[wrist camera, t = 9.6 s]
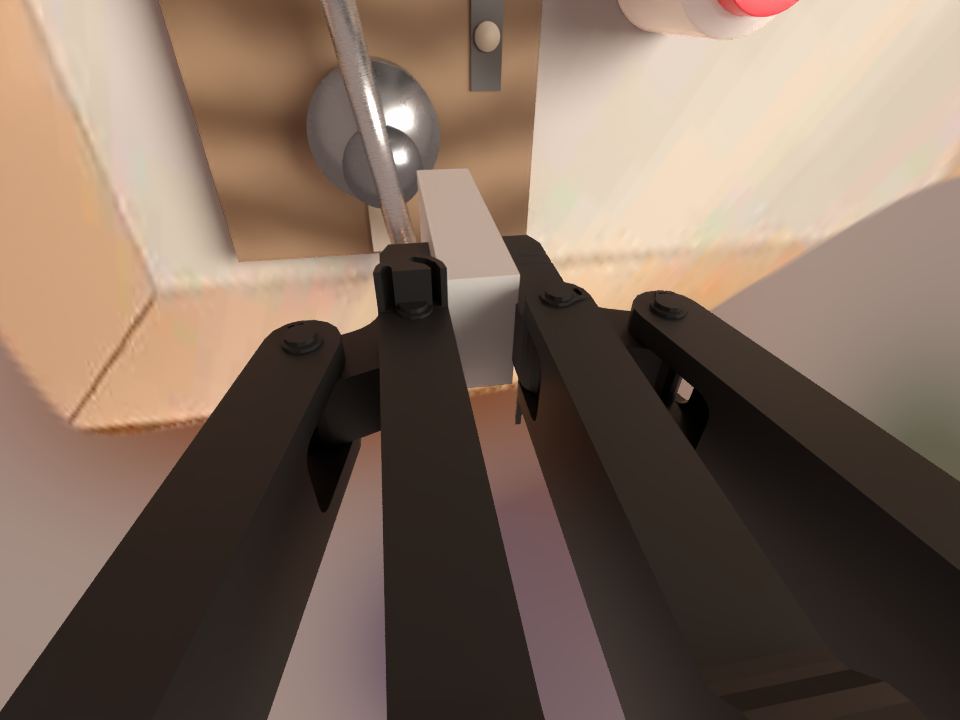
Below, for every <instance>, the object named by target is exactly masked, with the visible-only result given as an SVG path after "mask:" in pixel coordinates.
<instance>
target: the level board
mask: <svg viewBox="0 0 960 720" xmlns="http://www.w3.org/2000/svg"><path fill="white" fill-rule="evenodd" d="M158 1H159V4H160V7H161V11H162V14H163V17H164V20H165V24H166V27H167V30H168V33H169V37H170V40H171V43H172V46H173V50H174V53H175V56H176V59H177V63H178V66H179V69H180V72H181V76H182V79H183V82H184V85H185V89H186V92H187V95H188V98H189V102H190V105H191V108H192V111H193V115H194V118H195V121H196V125H197V128H198V131H199V134H200V138H201V141H202V144H203V147H204V151H205V154H206V157H207V160H208V164H209V167H210V170H211V173H212V177H213V180H214V183H215V186H216V190H217V193H218V196H219V199H220V203H221V206H222V209H223V212H224V216H225V219H226V222H227V226H228V229H229V232H230V235H231V239H232V242H233V245H234V248H235V252H236V255H237V258H238V261H239V262H245V261H260V260H276V259H291V258H307V257H322V256H338V255H353V254H369V253H381V252H382V251H383V250H384V249H385V247H386V246H387V245H388V244H391V243H390V240H389V237H388V233H387V230H386V226H385V223H384V219H383V216H382V212H381V209H379V208H375V207H372V206H369V205H367V204H365V203H363V202H362V201H360V200H359V199H358V198H356V197H353V196H351V195H349V194H347V193H345V192H343V191H342V190H340V189H339V188H337V187H336V186H335V185H334V184H333V183H332V182H330V180H329V179H328V178H327V177H326V176H325V175H324V174H323V172H322V171H321V170H320V168H319V167H318V165H317V163H316V161H315V160H314V157H313V155H312V152H311V150H310V146H309V143H308V137H307V126H306V122H307V113H308V108H309V104H310V102H311V99H312V97H313V94H314V93H315V91H316V89H317V87H318V86H319V84H320V82H321V81H322V79H323V78H324V77H325V76H326V74H327V73H328V72H329V71H330V70H331V69H333V68H334V67H335V66H337V65H338V61H337V58H336V54H335V51H334V47H333V44H332V40H331V37H330V33H329V30H328V27H327V23H326V20H325V16H324V13H323V9H322V6H321V2H320V0H158ZM356 4H357V8H358V12H359V16H360V20H361V24H362V28H363V32H364V36H365V40H366V44H367V48H368V51H369V55H370V56H374V57H380V58H384V59H387V60H390V61H392V62H394V63H396V64H398V65H400V66H401V67H403V68H404V69H406V70H407V71H408V72H409V73H410V74H412V75H413V76H414V77H415V79H416V80H417V81H418V82H419V83H420V85H421V86H422V88H423V89H424V91H425V92H426V94H427V95H428V97H429V99H430V101H431V103H432V105H433V107H434V109H435V112H436V115H437V119H438V123H439V129H440V146H439V152H438V157H437V160H436V163H435V165H434V168H433V169H432V170H436V169H463V168H468V170H469V172H470V174H471V176H472V178H473V180H474V182H475V184H476V186H477V188H478V190H479V192H480V194H481V196H482V198H483V200H484V202H485V204H486V206H487V208H488V210H489V212H490V214H491V216H492V219H493V221H494V223H495V225H496V227H497V229H498V231H499V233H500V235H501V236H514V235H526V231H527V216H528V202H529V187H530V173H531V159H532V144H533V130H534V115H535V101H536V86H537V72H538V57H539V43H540V28H541V14H542V0H356ZM407 205H408V209H409V213H410V217H411V221H412V225H413V228H414V232H415V236H416V240H417V243H421V231H420V216H419V200H418V192H417V193H416V194H415V196H414V197H413V198H412V199H411V200H410V201H408V202H407Z"/></svg>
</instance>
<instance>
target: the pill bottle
mask: <svg viewBox="0 0 960 720" xmlns="http://www.w3.org/2000/svg"><path fill="white" fill-rule="evenodd" d="M797 1H799V0H618V3H619V5H620V8H621V10H622V11H623V13H624V14H625V16H626V17H627V19H628V20H629V21H630V22H632V23H633V24H634V25H635V26H637V27H638V28H640V29H642V30H645V31H649V32H653V33H662V34H670V35H679V36H688V37H696V38H705V39H714V40H732V39H736V38H740V37H743V36H746V35H748V34H750V33H752V32H754V31H756V30H758V29H760V28H761V27H762V26H764V25H765V24H766V23H768V22H769V21H770V20H772V19H773V18H774V17H775V16H776V15H777V14H778V13H780V12H782V11H784V10H786V9H788V8H789V7H791V6H792V5H793V4H795V3H796V2H797Z"/></svg>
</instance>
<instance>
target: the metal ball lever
mask: <svg viewBox="0 0 960 720" xmlns="http://www.w3.org/2000/svg"><path fill="white" fill-rule="evenodd" d="M320 2H321V6H322V9H323V13H324V16H325V20H326V23H327V27H328V30H329V33H330V37H331V40H332V44H333V47H334V51H335V54H336V58H337V61H338V65H337V66H335V67H334V68H333V69H331V70H330V71H329V72H328V73H327V74H326V76H325V77H324V78H323V79H322V81H321V82H320V84H319V86H318V87H317V89H316V91H315V93H314V94H313V97H312V99H311V102H310V104H309V108H308V113H307V122H306V126H307V137H308V143H309V146H310V150H311V152H312V155H313V157H314V160H315V161H316V163H317V165H318V167H319V168H320V170H321V171H322V172H323V174H324V175H325V176H326V177H327V178H328V179H329V180H330V182H332V183H333V184H334V185H335V186H336V187H337V188H339V189H340V190H342V191H343V192H345V193H347V194H349V195H351V196H353V197H356V198H358V199H359V200H360V201H362V202H363V203H365V204H367V205H369V206H372V207H375V208H379V209H381V212H382V216H383V219H384V223H385V226H386V230H387V233H388V237H389V240H390V243H391V244H405V243H417V240H416V236H415V232H414V228H413V225H412V221H411V217H410V213H409V209H408V205H407V202H408V201H410V200H411V199H412V198H413V197H414V196H415V194H416V193H417V192H418V184H417V170H432V169H433V168H434V165H435V163H436V160H437V157H438V152H439V146H440V129H439V123H438V119H437V115H436V112H435V109H434V107H433V105H432V103H431V101H430V99H429V97H428V95H427V94H426V92H425V91H424V89H423V88H422V86H421V85H420V83H419V82H418V81H417V80H416V79H415V77H414V76H413V75H412V74H410V73H409V72H408V71H407V70H406V69H404V68H403V67H401V66H400V65H398V64H396V63H394V62H392V61H390V60H387V59H384V58H380V57H374V56H370V55H369V51H368V48H367V44H366V40H365V36H364V32H363V28H362V24H361V20H360V16H359V12H358V8H357V4H356V0H320Z"/></svg>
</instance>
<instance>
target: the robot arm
mask: <svg viewBox="0 0 960 720" xmlns="http://www.w3.org/2000/svg"><path fill="white" fill-rule="evenodd" d="M417 184H418V200H419V216H420V231H421V243H405V244H388V245H387V246H386V247H385V249H384V250H383V251H382V252H381V253H380V263H379V264H378V265H377V266H376V267H375V269H374V272H373V276H374V284H375V291H376V299H377V306H378V317H377V318H376V319H375V320H374V321H373V322H372V323H370V324H369V325H367V326H365V327H363V328H361V329H359V330H356V331H353V332H350V333H346V334H343V335H341V334H340V332H339V330H338V329H337V327H335V326H333V325H331V324H330V323H328V322H323V321H317V320H308V321H297V322H293V323H290V324H287V325H284V326H282V327H280V328H278V329H276V330H274V331H273V332H272V333H271V334H270V335H269V336H268V337H266V338H265V339H264V341H263V342H262V344H261V345H260V346H259V348H258V349H257V351H256V352H255V353H254V355H253V356H252V358H251V359H250V361H249V362H248V363H247V365H246V366H245V368H244V369H243V370H242V372H241V373H240V375H239V376H238V377H237V379H236V380H235V382H234V383H233V384H232V386H231V387H230V389H229V390H228V392H227V393H226V394H225V396H224V397H223V399H222V400H221V401H220V403H219V404H218V406H217V407H216V408H215V410H214V411H213V413H212V414H211V415H210V417H209V418H208V420H207V421H206V423H205V424H204V425H203V427H202V428H201V430H200V431H199V432H198V434H197V435H196V437H195V438H194V439H193V441H192V442H191V444H190V445H189V447H188V448H187V450H186V451H185V452H184V454H183V455H182V456H181V458H180V459H179V461H178V462H177V463H176V465H175V466H174V468H173V469H172V471H171V472H170V473H169V475H168V476H167V477H166V479H165V480H164V482H163V483H162V485H161V486H160V487H159V489H158V490H157V492H156V493H155V494H154V496H153V497H152V499H151V500H150V502H149V503H148V504H147V506H146V507H145V508H144V510H143V511H142V513H141V514H140V516H139V517H138V518H137V520H136V521H135V523H134V524H133V526H132V527H131V528H130V530H129V531H128V533H127V534H126V535H125V537H124V538H123V539H122V541H121V542H120V544H119V545H118V547H117V548H116V549H115V551H114V552H113V554H112V555H111V556H110V558H109V559H108V561H107V562H106V563H105V565H104V566H103V568H102V569H101V571H100V572H99V573H98V575H97V576H96V577H95V579H94V581H93V582H92V583H91V585H90V586H89V587H88V589H87V590H86V592H85V593H84V595H83V596H82V597H81V599H80V600H79V601H78V603H77V604H76V606H75V607H74V608H73V610H72V611H71V613H70V614H69V616H68V617H67V618H66V620H65V621H64V623H63V624H62V626H61V627H60V628H59V630H58V631H57V632H56V634H55V635H54V637H53V638H52V640H51V641H50V642H49V644H48V645H47V647H46V648H45V649H44V651H43V652H42V654H41V655H40V656H39V658H38V659H37V661H36V662H35V663H34V665H33V666H32V668H31V669H30V671H29V672H28V673H27V675H26V676H25V678H24V679H23V680H22V682H21V683H20V685H19V686H18V687H17V689H16V690H15V692H14V693H13V694H12V696H11V697H10V699H9V700H8V701H7V703H6V704H5V706H4V707H3V709H2V710H1V712H0V720H267V718H268V715H269V712H270V710H271V706H272V703H273V701H274V698H275V695H276V692H277V689H278V686H279V683H280V680H281V677H282V674H283V672H284V669H285V666H286V663H287V660H288V657H289V654H290V651H291V648H292V645H293V642H294V640H295V637H296V634H297V630H298V628H299V625H300V622H301V619H302V616H303V613H304V610H305V607H306V604H307V601H308V598H309V596H310V593H311V590H312V587H313V584H314V581H315V578H316V575H317V572H318V569H319V567H320V563H321V561H322V557H323V555H324V552H325V549H326V546H327V543H328V540H329V537H330V534H331V531H332V529H333V525H334V523H335V520H336V517H337V514H338V511H339V508H340V505H341V502H342V499H343V496H344V493H345V491H346V488H347V485H348V482H349V478H350V476H351V473H352V470H353V467H354V464H355V461H356V458H357V455H358V452H359V450H360V447H361V438H362V437H365V436H367V435H370V434H372V433H375V432H378V431H381V458H382V499H383V500H382V505H383V547H384V596H385V597H384V598H385V644H386V688H387V690H386V691H387V720H545V719H544V715H543V711H542V707H541V703H540V700H539V695H538V691H537V686H536V682H535V678H534V673H533V669H532V665H531V661H530V656H529V652H528V648H527V643H526V640H525V635H524V630H523V626H522V623H521V618H520V613H519V609H518V605H517V600H516V596H515V592H514V587H513V583H512V579H511V574H510V571H509V566H508V562H507V557H506V553H505V549H504V544H503V540H502V536H501V532H500V527H499V523H498V519H497V514H496V510H495V506H494V501H493V498H492V493H491V489H490V484H489V480H488V476H487V471H486V467H485V463H484V458H483V454H482V450H481V446H480V441H479V437H478V433H477V428H476V424H475V420H474V416H473V411H472V407H471V403H470V398H469V394H468V390H467V388H475V387H485V386H494V385H504V384H512V379H513V365H514V367H515V370H516V373H517V376H518V389H517V401H516V414H515V424H520V423H521V415H522V414H523V416H524V419H525V422H526V425H527V428H528V431H529V434H530V437H531V440H532V443H533V446H534V449H535V452H536V455H537V458H538V461H539V464H540V467H541V470H542V473H543V476H544V479H545V482H546V485H547V488H548V491H549V494H550V497H551V499H552V502H553V505H554V508H555V511H556V514H557V517H558V520H559V523H560V526H561V529H562V532H563V535H564V538H565V541H566V544H567V547H568V550H569V553H570V556H571V559H572V562H573V565H574V567H575V571H576V574H577V576H578V580H579V582H580V585H581V588H582V591H583V594H584V597H585V600H586V603H587V606H588V609H589V612H590V615H591V618H592V621H593V624H594V627H595V630H596V633H597V636H598V638H599V642H600V644H601V648H602V651H603V654H604V657H605V660H606V663H607V666H608V668H609V671H610V674H611V677H612V680H613V683H614V686H615V689H616V692H617V695H618V698H619V701H620V704H621V707H622V710H623V713H624V716H625V719H626V720H960V482H959V481H958V480H957V479H955V478H954V477H952V476H950V475H949V474H948V473H946V472H945V471H943V470H942V469H940V468H939V467H937V466H936V465H934V464H933V463H931V462H930V461H928V460H927V459H926V458H924V457H923V456H921V455H920V454H918V453H917V452H915V451H914V450H912V449H911V448H910V447H908V446H906V445H905V444H904V443H902V442H901V441H899V440H898V439H896V438H895V437H893V436H892V435H890V434H889V433H887V432H886V431H885V430H883V429H881V428H880V427H879V426H877V425H876V424H874V423H873V422H871V421H870V420H868V419H867V418H865V417H864V416H862V415H861V414H859V413H858V412H857V411H855V410H854V409H852V408H851V407H849V406H848V405H846V404H845V403H843V402H842V401H840V400H839V399H837V398H836V397H835V396H833V395H832V394H830V393H829V392H827V391H826V390H824V389H823V388H821V387H820V386H818V385H817V384H815V383H814V382H812V381H811V380H810V379H808V378H807V377H805V376H804V375H802V374H801V373H799V372H798V371H796V370H795V369H793V368H792V367H790V366H789V365H787V364H786V363H784V362H783V361H782V360H780V359H779V358H777V357H776V356H774V355H773V354H771V353H770V352H768V351H767V350H765V349H764V348H763V347H761V346H759V345H758V344H757V343H755V342H753V341H752V340H751V339H749V338H748V337H746V336H745V335H743V334H742V333H740V332H739V331H738V330H736V329H735V328H733V327H732V326H730V325H728V324H727V323H726V322H724V321H723V320H721V319H720V318H718V317H717V316H715V315H714V314H713V313H711V312H710V311H708V310H707V309H705V308H704V307H702V306H701V305H699V304H698V303H696V302H695V301H693V300H691V299H689V298H687V297H685V296H683V295H679V294H676V293H674V292H671V291H666V292H665V291H660V290H658V291H650V292H645V293H642V294H640V295H637V297H636V298H635V299H634V301H633V304H632V308H631V311H624V310H615V309H606V308H601V307H598V306H597V304H596V303H595V301H594V300H593V298H592V297H591V295H590V294H589V293H587V292H586V291H585V290H584V289H583V288H580V287H578V286H576V285H574V284H570V283H565V282H564V281H563V279H562V278H561V276H560V275H559V273H558V271H557V270H556V268H555V267H554V265H553V263H551V260H550V259H549V257H548V255H546V252H545V251H544V249H543V247H542V246H541V244H540V243H539V242H538V241H536V240H534V239H533V238H531V237H529V236H528V235H514V236H501V235H500V233H499V231H498V229H497V227H496V225H495V223H494V221H493V219H492V216H491V214H490V212H489V210H488V208H487V206H486V204H485V202H484V200H483V198H482V196H481V194H480V192H479V190H478V188H477V186H476V184H475V182H474V180H473V178H472V176H471V174H470V172H469V170H468V168H463V169H436V170H417ZM682 378H683V379H684V380H686V381H687V382H688V383H689V384H690V385H691V386H693V387H694V389H693V392H692V394H691V397H690V399H689V400H686V399H684V398H683V397H681V396H680V395H679V394H678V393H677V392H678V389H679V386H680V383H681V380H682Z"/></svg>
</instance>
